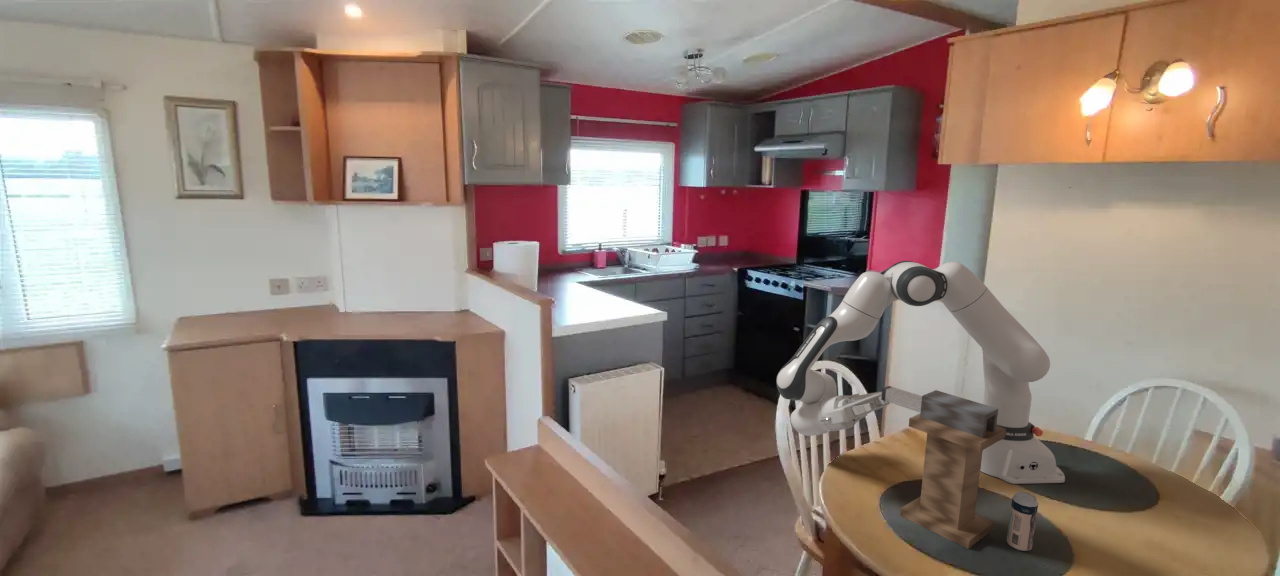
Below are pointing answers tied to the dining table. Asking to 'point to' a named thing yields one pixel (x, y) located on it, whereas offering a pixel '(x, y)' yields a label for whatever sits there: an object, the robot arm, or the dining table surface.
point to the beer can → (1022, 521)
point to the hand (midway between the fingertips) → (882, 401)
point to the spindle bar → (902, 398)
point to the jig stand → (953, 466)
